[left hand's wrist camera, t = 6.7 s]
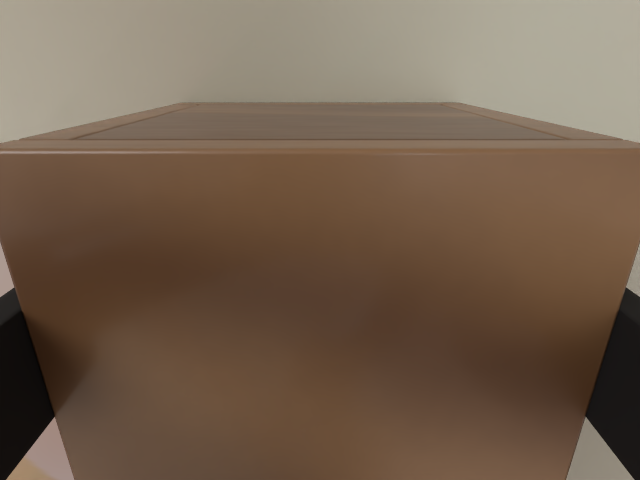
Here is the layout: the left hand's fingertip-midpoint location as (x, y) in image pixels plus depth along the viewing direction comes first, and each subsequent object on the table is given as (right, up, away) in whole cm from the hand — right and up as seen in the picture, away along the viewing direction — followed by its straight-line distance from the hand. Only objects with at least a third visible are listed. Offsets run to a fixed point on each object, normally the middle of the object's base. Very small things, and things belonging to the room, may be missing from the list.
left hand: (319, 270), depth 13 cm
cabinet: (0, -4, +9) cm, 9 cm away
